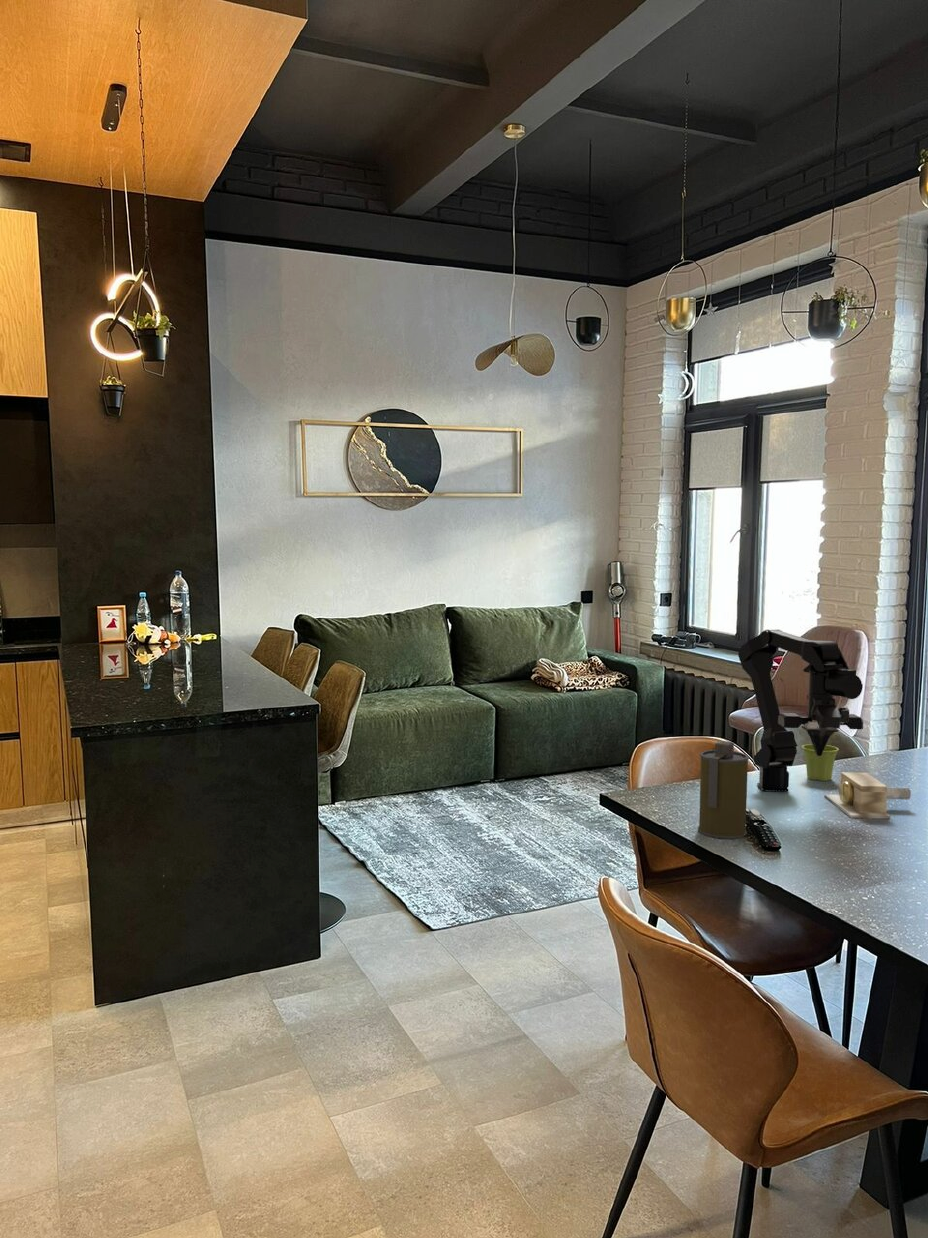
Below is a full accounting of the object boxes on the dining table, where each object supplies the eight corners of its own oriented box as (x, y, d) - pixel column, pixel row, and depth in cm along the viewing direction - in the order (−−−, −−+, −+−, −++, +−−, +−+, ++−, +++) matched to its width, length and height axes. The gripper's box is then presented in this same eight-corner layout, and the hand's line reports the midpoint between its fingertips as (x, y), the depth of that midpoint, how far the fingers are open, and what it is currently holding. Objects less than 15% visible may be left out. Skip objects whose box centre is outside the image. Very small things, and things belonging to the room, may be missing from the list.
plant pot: (793, 775, 251) (794, 744, 251) (821, 773, 254) (822, 742, 254) (816, 784, 242) (817, 752, 242) (845, 781, 245) (846, 750, 245)
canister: (709, 821, 208) (712, 736, 206) (753, 831, 201) (756, 742, 200) (689, 833, 200) (691, 744, 198) (734, 843, 193) (737, 751, 191)
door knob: (846, 806, 218) (847, 784, 218) (838, 800, 223) (839, 779, 223) (912, 807, 217) (913, 786, 217) (903, 801, 222) (903, 780, 222)
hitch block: (851, 817, 212) (852, 788, 211) (824, 796, 230) (825, 769, 229) (890, 818, 211) (891, 789, 211) (860, 797, 229) (861, 770, 229)
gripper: (792, 697, 212) (789, 762, 214) (873, 699, 211) (870, 764, 212) (778, 690, 223) (776, 752, 225) (855, 691, 222) (853, 753, 224)
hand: (818, 755), depth 221 cm, fingers closed
